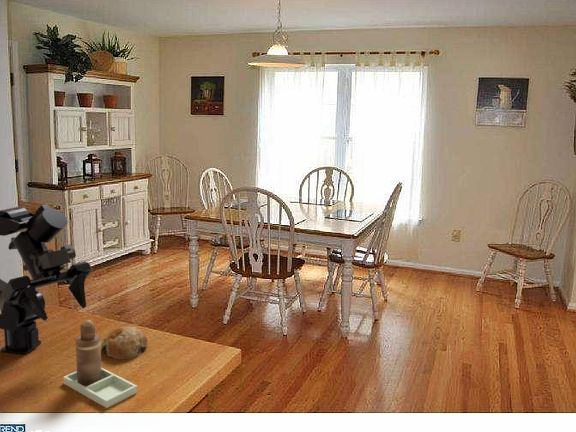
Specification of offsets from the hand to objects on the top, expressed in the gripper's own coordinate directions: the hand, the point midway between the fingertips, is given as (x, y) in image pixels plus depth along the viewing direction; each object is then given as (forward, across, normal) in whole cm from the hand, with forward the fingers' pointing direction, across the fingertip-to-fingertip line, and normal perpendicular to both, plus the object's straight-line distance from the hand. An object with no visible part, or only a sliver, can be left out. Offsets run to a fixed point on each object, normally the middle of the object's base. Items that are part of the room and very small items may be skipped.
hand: (66, 313), depth 115 cm
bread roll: (+11, +13, +8) cm, 19 cm away
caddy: (+18, -1, 0) cm, 18 cm away
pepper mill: (+15, -1, +2) cm, 16 cm away
